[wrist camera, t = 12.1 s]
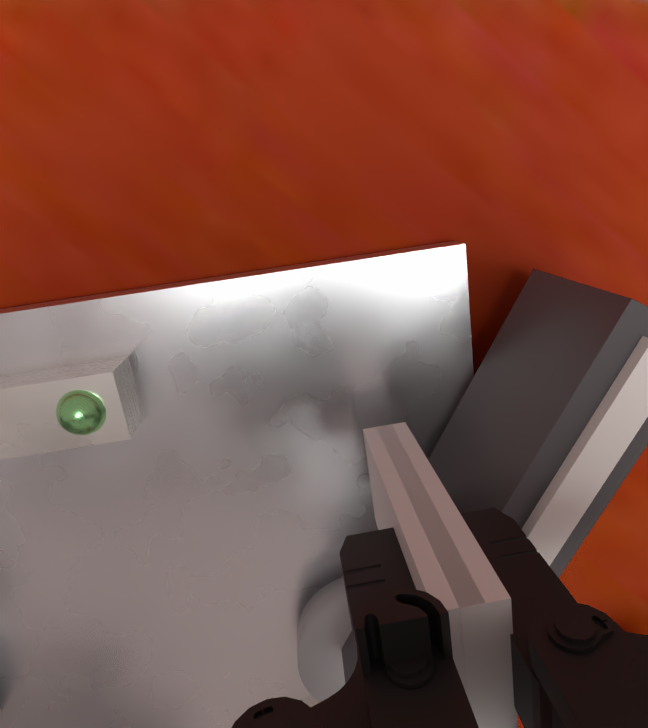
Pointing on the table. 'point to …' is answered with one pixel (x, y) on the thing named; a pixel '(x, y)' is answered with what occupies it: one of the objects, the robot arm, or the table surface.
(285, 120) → the table surface
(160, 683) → the base plate
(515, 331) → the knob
